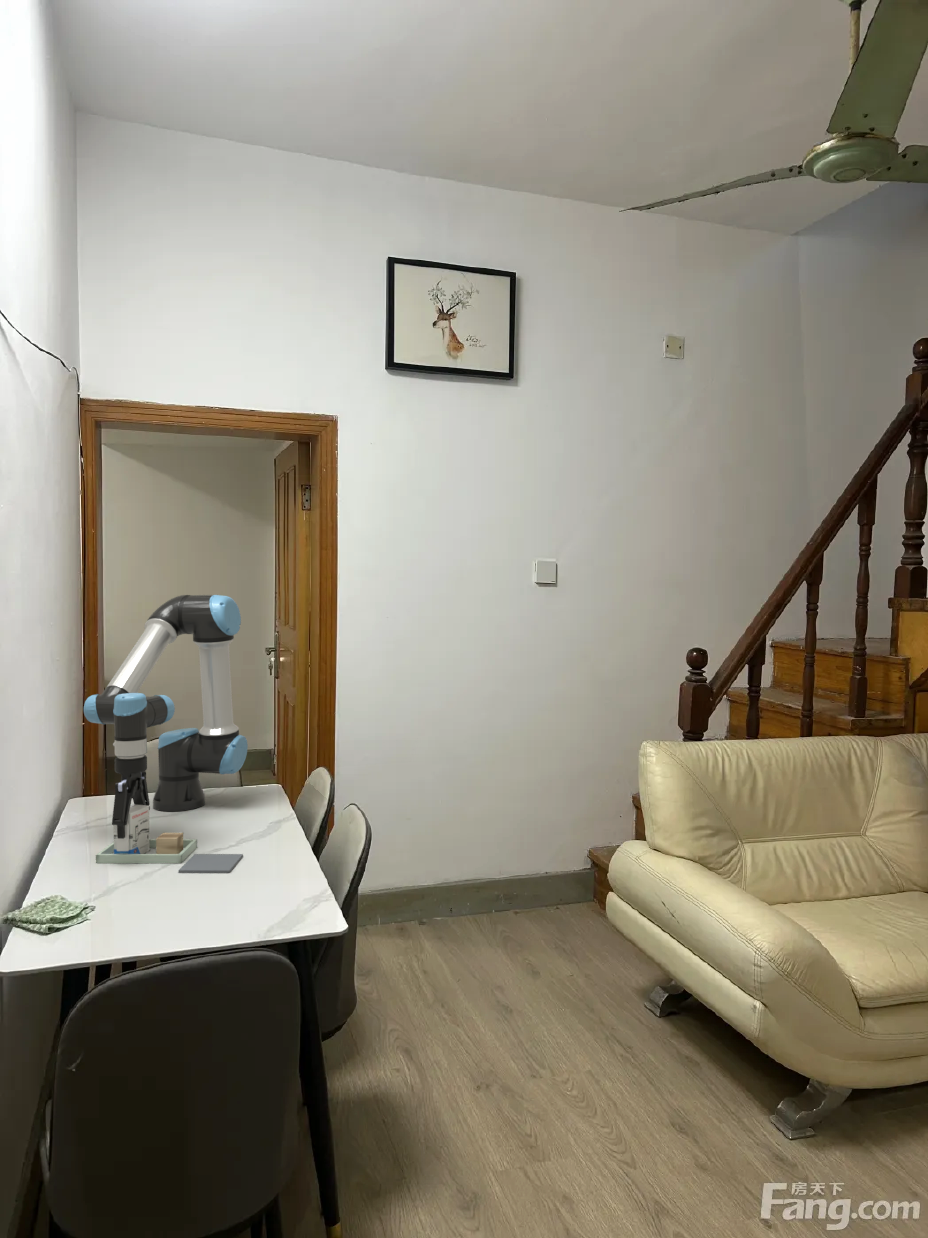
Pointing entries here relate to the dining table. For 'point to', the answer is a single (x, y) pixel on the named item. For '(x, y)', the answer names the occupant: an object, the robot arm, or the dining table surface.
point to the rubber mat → (211, 863)
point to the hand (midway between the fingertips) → (131, 843)
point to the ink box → (136, 830)
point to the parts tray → (108, 857)
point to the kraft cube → (169, 843)
